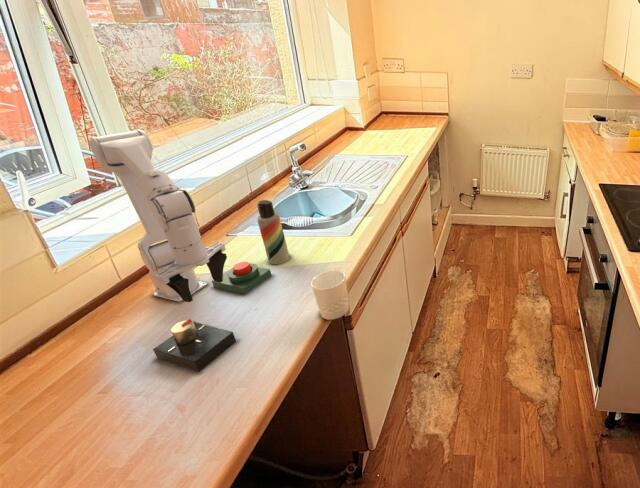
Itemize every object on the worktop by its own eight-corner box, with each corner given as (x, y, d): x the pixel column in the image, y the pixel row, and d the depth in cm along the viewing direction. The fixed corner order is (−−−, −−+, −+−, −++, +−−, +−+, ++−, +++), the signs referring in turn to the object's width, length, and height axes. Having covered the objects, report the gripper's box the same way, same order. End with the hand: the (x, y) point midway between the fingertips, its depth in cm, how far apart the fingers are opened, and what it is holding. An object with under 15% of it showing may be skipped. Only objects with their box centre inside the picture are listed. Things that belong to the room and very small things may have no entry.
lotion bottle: (264, 261, 123) (248, 203, 115) (282, 252, 127) (267, 195, 119) (276, 266, 120) (260, 207, 112) (293, 257, 125) (279, 199, 117)
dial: (185, 346, 88) (179, 333, 86) (171, 342, 88) (165, 329, 87) (202, 333, 91) (197, 320, 89) (188, 330, 92) (183, 317, 90)
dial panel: (157, 359, 88) (152, 348, 87) (196, 330, 96) (192, 320, 95) (199, 372, 85) (194, 361, 84) (236, 341, 93) (232, 331, 92)
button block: (213, 287, 111) (209, 275, 109) (241, 269, 119) (238, 258, 117) (245, 294, 108) (241, 282, 107) (271, 275, 116) (268, 264, 115)
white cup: (341, 297, 108) (335, 266, 104) (357, 309, 104) (351, 278, 99) (312, 312, 102) (305, 280, 98) (328, 326, 98) (320, 293, 94)
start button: (231, 274, 111) (229, 268, 110) (243, 266, 114) (241, 260, 113) (242, 277, 110) (240, 270, 109) (254, 268, 113) (252, 262, 112)
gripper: (165, 262, 83) (186, 313, 88) (228, 229, 96) (243, 276, 101) (141, 256, 85) (162, 307, 90) (206, 225, 97) (221, 271, 103)
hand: (203, 290), depth 96 cm, fingers open, 7 cm apart
